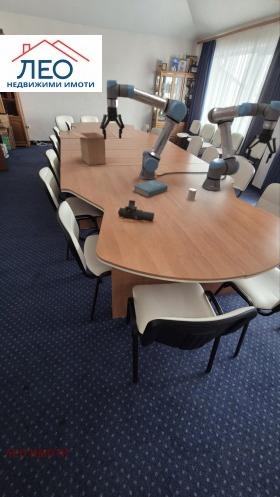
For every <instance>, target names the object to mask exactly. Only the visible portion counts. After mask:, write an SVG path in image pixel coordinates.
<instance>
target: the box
mask: <svg viewBox="0 0 280 497" xmlns="http://www.w3.org/2000/svg"><path fill="white" fill-rule="evenodd" d="M70 133H71V134H72V135H74V136H75V137H77V138H79V144H80V153H81V160H83V162H85V163H86V165H87V166H95V165H97V166H98V165H106V163H107V162H106V158H107V157H106V140H105V139H104V135H103V132H102V131H98V132H96V131H95V130H92V129H91V130H77V132H76V131H70ZM113 137H114V136H113V135H111V134H109V133H108V132H106V138H113Z"/></svg>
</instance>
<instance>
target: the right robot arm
mask: <svg viewBox="0 0 280 497" xmlns="http://www.w3.org/2000/svg"><path fill="white" fill-rule="evenodd" d="M242 117H243V118H244V117H259V118H260V117H261V118H265V119H264V121H263V125H262V128H261V131H260V134H255V135H254V136H253V138H252V139H251V140H250V142H249V143H248V144H247V145H246V149H247V152H246V154H247V156H246V160H249V159H250V157H251V153H252V151H253V148H254V147H256V146H257V145H258V144H264V145H266V146H267V148H268V151H269V153H268V156H267V158H266V160H265V164H268V163H269V160H270V159H272V157H273V154H277V151H278V150H277V142H276V141H277V137H273V134H274V131H275V129H276V126H277V123H278V120H279V117H280V100H271V101H270V103H263V102H242V103H240V104H237V105H236V104H235V105H232V106H226V107H212V108H211V109H210V110H209V111H208V113H207V120H208V122H209V123H210V124H212V125H216V126H217V129H218V130H219V134H220V145H221V155H222V158H214V159H212V160H211V161H210V162H209V164H208V165H209V166H208V168H207V172H208V173H206V177H205V180H204V181H203V182H202V186H201V187H202V189H204V190H207V191H210V192H218V191H220V189H221V181H223V180H224V179H226V177H227V176H233V175H236V174H238V171H239V170H240V161H239V160H237V158H236V156H235V155H234V147H233V146H234V145H233V137H232V127H231V126H232V125H233V122H234V121H235V118H242ZM257 139H258V140H257ZM256 140H257V141H256ZM270 141H271V142H272V145H271V142H270ZM223 176H224V177H223ZM222 177H223V178H222Z"/></svg>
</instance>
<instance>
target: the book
mask: <svg viewBox="0 0 280 497" xmlns="http://www.w3.org/2000/svg"><path fill="white" fill-rule="evenodd" d="M168 187H169V186H168V184H166V183H164V182H160V181H159V180H156V179H153V180H146V181H143V182H140V183H137V184H134V185H133V193H135V194H138V195H140V196H142V197H145V198H150V197H153V196H156V195H159V194H161V193H164V192H167V191H168Z"/></svg>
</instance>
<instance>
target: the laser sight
mask: <svg viewBox="0 0 280 497" xmlns="http://www.w3.org/2000/svg"><path fill="white" fill-rule="evenodd" d="M117 214H118V217H119V218H123V219H126V220H133V221H139V222H140V221H145V222H151V223H152V222H154V220H155V212H152V211H144V210H142V209H138V207H137V206H136V200H131V199H129V200H128V205H127V206H125V207H119V209H118V210H117Z"/></svg>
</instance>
